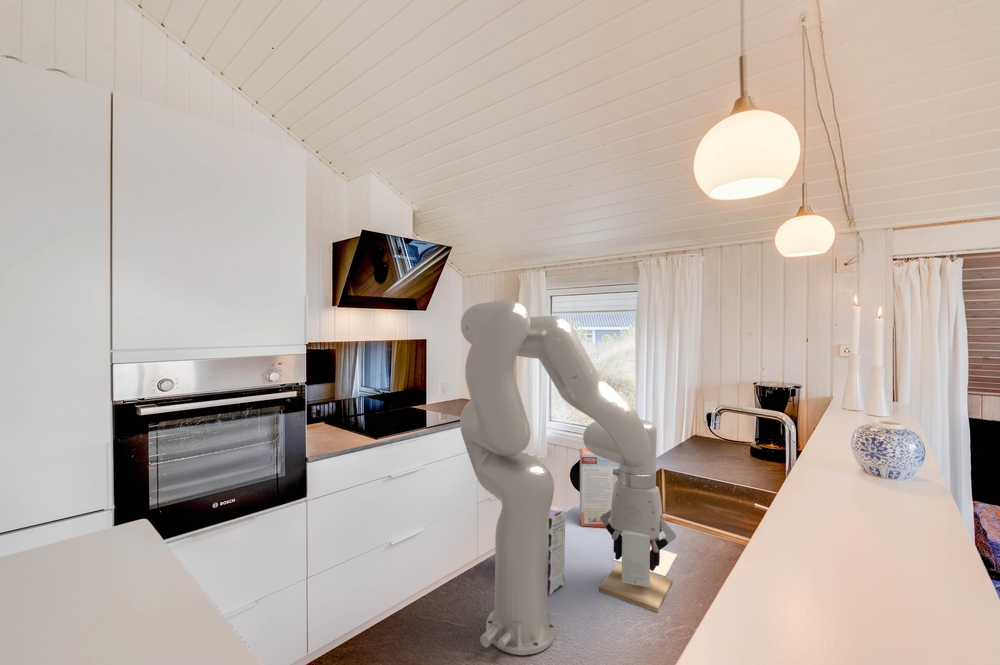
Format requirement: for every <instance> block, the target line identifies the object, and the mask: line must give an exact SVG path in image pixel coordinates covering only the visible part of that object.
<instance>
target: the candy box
mask: <svg viewBox="0 0 1000 665" xmlns="http://www.w3.org/2000/svg"><path fill="white" fill-rule="evenodd" d="M565 538H566V509H565V508H560V507H557V506H554V505H552V504H551V508H550V514H549V524H548V578H547V596H551V595H552V594H554V593H555V592H556V591H559V589H561V588H562V587H564V586H565V554H566V553H565V545H566V544H565V542H566V539H565Z"/></svg>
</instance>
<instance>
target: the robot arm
mask: <svg viewBox="0 0 1000 665" xmlns="http://www.w3.org/2000/svg"><path fill="white" fill-rule="evenodd" d="M460 330H461V333H462V336H463V337H464V339H465V340H466V341H467V342H468V343H469V344H470V348H469V350H468V352H467V353H468V354H467V357H466V360H465V361H466V362H465V368H464V371H465V372H464V373H465V374H464V376H465V383H466V388H467V390H468V394H469V397H470V400H469V401H468V402H467V403H466V404H465V405H464V406H463V409H462V411H461V414H460V418H459V421H460V423H459V424H460V425H459V427H460V433H461V436H462V440H463V442H464V445H465V449H466V451H467V455H468V457H469V459H470V460H469V461H470V463H471V466H472V468H473V472H474V474H475V477H476V478H477V481H478V483H479V484H480V485H481V487H482V488H484V489H485V490H486V491H487V492H489V494H491V495H492V496H493V497H495V498H496V499H498V500H499V501H500V503H501V511H500V514H499V516H498V518H497V523H496V527H495V539H494V540H495V543H494V544H495V559H494V560H495V561H494V562H495V563H494V564H495V566H494V567H495V568H494V569H495V570H494V609H493V610H492V611H491V612H490V613H489V615H488V616H487V618H486V622H485V631H484V633H483V634H481V636H480V638H479V641H480V644H481V645H482V646H483V647H484V648H488V647H490V646H491V645H493V646H494V647H496V648H497V649H499V650H500V651H502V652H504V653H508V654H511V655H515V656H516V655H518V656H528V655H529V654H530V655H535V654H537V653H541V652H542V651H544V649H545V650H546V649H547V648H549V647H550V646H551V645H552V643H553V642H554V640H555V638H556V624H555V621H554V619H553V617H552V616H551V615H550V614H549V613H548V595H547V578H548V524H549V514H550V508H551V505H552V503H553V499H554V495H555V494H554V492H555V483H554V478H553V475H552V473H551V472H550V470H549V468H548V467H547V466H546V465H545V464H544V463H542V462H541V461H540V460H539V459H537V458H535V457H534V456H531V455H530V454H527V453H525V452H524V451H525V450H526V449H527V447H528V445H529V443H530V440H531V427H530V423H529V418H528V416H527V412H526V409H525V406H524V404H523V400H522V396H521V394H520V391H519V387H518V384H517V379H516V374H515V362H516V360H517V359H516V358H517V357H522V358H528V359H538V361H539V362H540V363H541V364H542V366H543V368H544V369H545V371H546V373H547V375H548V376H549V378H550V380H551V381H552V383H553V385H554V386H555V388H556V390H557V392H558V394H559V396H560V397H561V398H562V399H563V400H564V401H565V402H566V403H568V404H569V405H571V406H572V407H573V408H574V409H576V410H577V411H579V412H581V413H582V414H584V415H586V416H588V417H589V418H591V419H593V421H594V422H592V423H589V425H587V426H586V428H585V430H584V432H583V436H582V440H583V443H584V444H583V445H584V446H585V447H586V448H585V449H588V450H589V451H590V452H592V453H593V454H595V455H597V456H599V457H602V458H605V459H608V460H611V461H614V462H616V463H619V468H618V469H613V475H616V476H618V481H616V482H615V485H614V490H613V496H612V504H611V510H609V511H608V512H606V513H605V514H603V515H602V516H601V517H600V519H601V521H602V522H603V524H604V525H605V526H606V527H605V529H606V530H607V532H608V533H609V534H610V535H611V539H612V540H613V553H614V554H615V557H614V558H615V559H617V560H618V559H620V558H621V556H622V531H623V530H627V531H632V532H636V533H639V534H643V535H647V536H650V546H651V547H652V549H651V551H650V570H651V571H654V569H655V568H656V566H659V562H660V550H663V549H664V548H665V547H667V545H669V544H670V543H671V542H672V541H674V540H675V538H676V537H677V534H676V532H675V531H674V530H673V529H672V528H671V527H670V526H669V524H667V522H666V521H665V520H664V518H663V507H662V498H661V492H660V488H659V486H657V435H658V434H657V433H658V432H657V427H656V425H655V424H654V423H653V422H652V421H649V420H645V419H641V418H640V416H639V414H638V413H637V411H636V410H635V408H634V407H633V406H632V405H631V404H630V403H629V401H627V399H625V398H624V397H623V396H622V395H621V394H620V393H619V392H618V391H616V389H614V387H612V386H611V385H610V384H609V383H608V382H607V381H606V380H604V379H603V378H602V377H601V376H600V374H599V372H598V371H597V368H596V367H595V365H594V364H593V362H592V360H591V358H590V357H589V355H588V352H587V351H586V349H585V347H584V346H583V343H582V342H581V340H580V338H579V336H578V334H577V332H576V331H575V329H574V327H573V325H572V324H571V322H570V321H568V320H567V319H565V318H564V317H562V316H557V315H542V316H541V315H539V316H530V313H529V311H528V309H527V308H526V307H525V305H524V304H522V303H520V302H519V301H516V300H509V299H508V300H507V299H503V300H502V299H501V300H495V301H488V302H479V303H476V304H473V305H471V306H470V307H469V308H467V309H466V310H465V311H464V313H463V315H462V316H461V320H460ZM609 518H610V519H609ZM613 518H614V519H613ZM662 532H663V533H664V534H665V536H664V537H663V538H660V533H662ZM530 655H529V656H530Z"/></svg>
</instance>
